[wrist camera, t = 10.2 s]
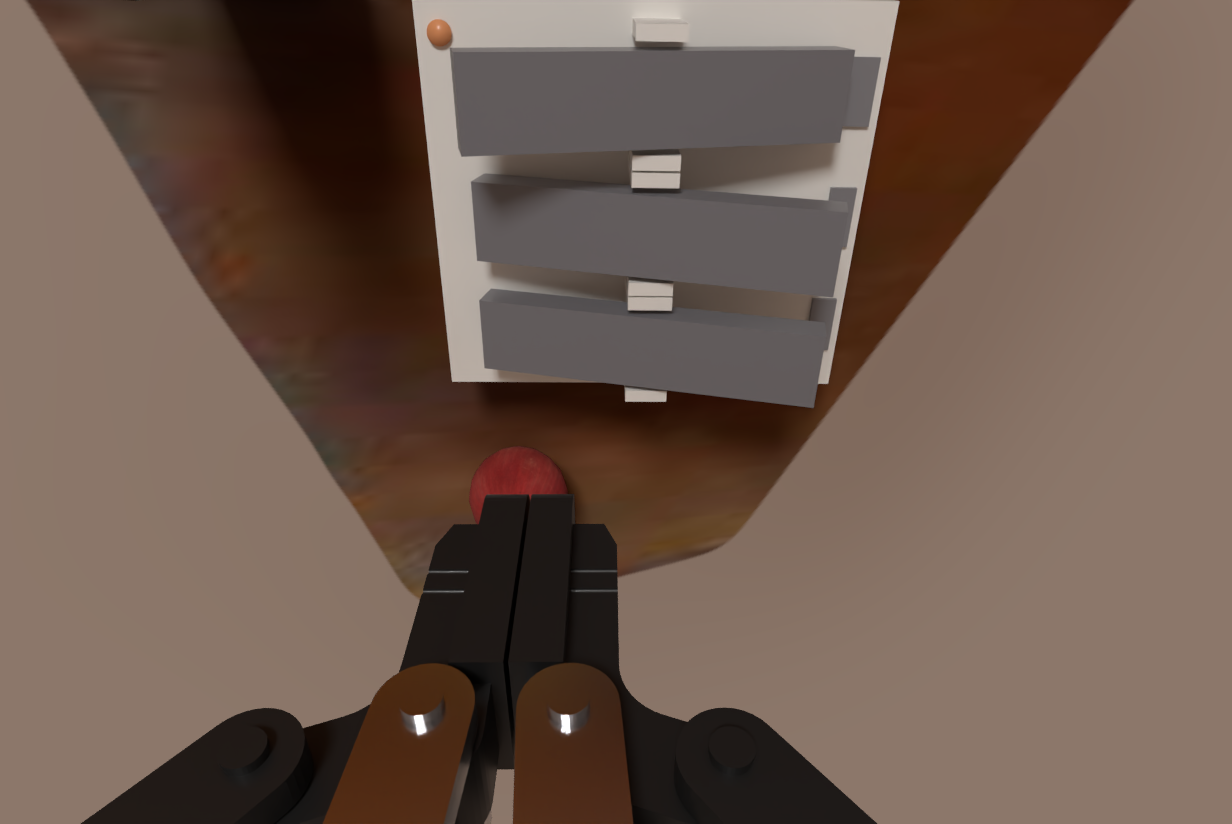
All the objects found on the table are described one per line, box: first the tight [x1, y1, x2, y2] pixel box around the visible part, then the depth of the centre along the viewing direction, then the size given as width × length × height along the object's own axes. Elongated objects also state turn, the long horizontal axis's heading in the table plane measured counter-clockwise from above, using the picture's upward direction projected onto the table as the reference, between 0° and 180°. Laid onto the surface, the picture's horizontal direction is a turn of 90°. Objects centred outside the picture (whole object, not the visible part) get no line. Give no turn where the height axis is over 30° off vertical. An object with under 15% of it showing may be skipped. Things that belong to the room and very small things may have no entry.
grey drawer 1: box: [450, 46, 855, 157], centre depth 30 cm, size 4×16×2 cm, turn 89°
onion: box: [469, 446, 568, 524], centre depth 45 cm, size 6×6×8 cm
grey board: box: [479, 288, 826, 408], centre depth 36 cm, size 4×16×2 cm, turn 89°
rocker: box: [471, 173, 848, 297], centre depth 33 cm, size 4×16×2 cm, turn 89°
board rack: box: [412, 0, 899, 402], centre depth 36 cm, size 18×20×8 cm
